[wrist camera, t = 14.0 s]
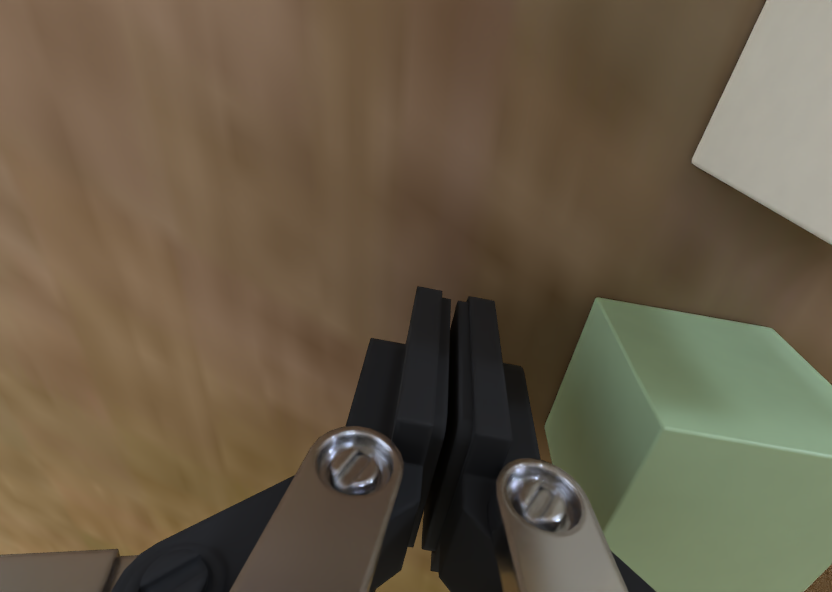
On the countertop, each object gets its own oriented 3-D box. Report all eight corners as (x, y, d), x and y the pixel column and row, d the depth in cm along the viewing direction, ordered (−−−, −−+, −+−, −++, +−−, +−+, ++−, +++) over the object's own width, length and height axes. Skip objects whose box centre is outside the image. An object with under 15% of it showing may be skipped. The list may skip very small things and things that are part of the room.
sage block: (595, 296, 11) (662, 427, 7) (772, 327, 11) (926, 473, 7) (543, 426, 13) (576, 579, 9) (692, 452, 13) (782, 614, 10)
